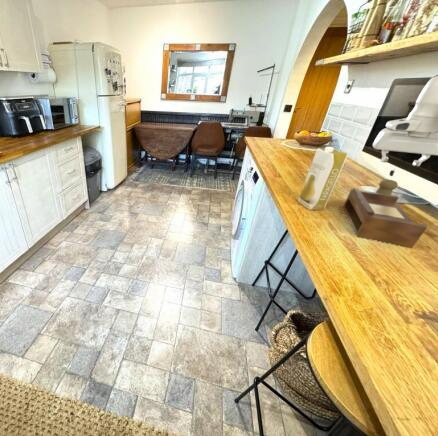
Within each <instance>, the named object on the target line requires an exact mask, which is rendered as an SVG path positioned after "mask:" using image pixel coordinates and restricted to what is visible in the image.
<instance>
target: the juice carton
mask: <svg viewBox="0 0 438 436" xmlns="http://www.w3.org/2000/svg"><path fill="white" fill-rule="evenodd" d="M348 157H349V153H348V152H344V151H340V150H337V149H335V147H332V146H326V147H321V148H319V147H318V148H317V149H316V151H315V153H314V156H313V159H312V162H311V164H310V167H309V170H308V173H307V176H306V178H305V180H304V184H303V186H302V188H301V191H300V193H299V197H298V201H297V202H298V203H299V204H300V205H302V206H303V207H305V208H306V209H307V210H309V211H319V210H320V211H321V210H324V209H325V208H326V206H327V205H328V202H329V200H330V198H331V196H332V194H333V191H334V189H335V187H336V184H337V182H338V179H339V177H340V175H341V172H342V170H343V168H344V166H345V164H346V161H347V160H348V159H347V158H348ZM344 163H345V164H344Z"/></svg>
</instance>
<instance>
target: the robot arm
mask: <svg viewBox="0 0 438 436" xmlns="http://www.w3.org/2000/svg"><path fill="white" fill-rule="evenodd" d="M372 147H373V149H375V150H378V151H379V150H380V152H381V158H380V163H388V161H389V159H390V157H388V156H387V154H389V152H399V153H409V154H418V155H420V154H421V157H420V158H418V159H414V160H413V162H412V166H413V167H420V166H421V164H422V163H423V162H425V161H427V160H428V159H430V158H431V156H438V74H436V75H434V76H432V77H431V78H430V79H428V81H427V83H426V84H425V85H424V87H423V88H422V90H421V92H420V93H419V95H418V97H417V98H416V101H415V105H414V107H413V108H412V110H411V111H410V112H409V114H408V116H407V117H405V118H404V117H403V118H400V119H394V120H393V119H392V120H388V121H387V122H386V124H385V128H383V129H381V130H380V131H379V132H378V134H377V135H376V137H375V139H374V141H373V143H372Z"/></svg>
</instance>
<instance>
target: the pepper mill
mask: <svg viewBox="0 0 438 436" xmlns="http://www.w3.org/2000/svg"><path fill="white" fill-rule="evenodd" d="M398 184H399V183H398V182H397V181H396V180H393V179H388V178H385V179H382V180H380V182H379V183H378V189H376V190H375V193H382V194H389V195H392V193H393V191H394V190H396V189H397V187H398Z"/></svg>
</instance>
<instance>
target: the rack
mask: <svg viewBox="0 0 438 436" xmlns="http://www.w3.org/2000/svg"><path fill="white" fill-rule="evenodd" d="M375 192H376V191H375ZM375 192H373V191H369V190H368V191H367V190H361V189H360V188H357V187H356V188H355V187H353V188H351V190H350V191H349V193H348V196H347V198H346V200H345V202H344V204H343V206H342V208H343V210H344V211H345V214H346V216H347V218H348V220H349V223H350V225H351V227H352V229H353V231H354V234H355V235H357V236H356V238H360V237H361V238H360V239H364V238H366V240H369V239H372V240H371V241H374V240H377V241H376V242H379V241H381V242H380V243H384V242H386V243H385V244H388V243H391V244H390V245H393V244H396V245H395V246H398V245H400V246H399V247H402V248H408V249H413V248H414V246H415V245H416V243H417V242H419V240H420V238H421V236H422V235H423V234H424V232H426V230H427V228H428V226H427V225H426V224H423V223H419V222H414V220H413V219H412V218H411V217H410V216H409V214H407V213H406V211H404V210H403V208H401V206H400V205H399V204H398V202H397V201H398V199H399V196H398V195H395V194H391V195H389V194H382V193H375Z"/></svg>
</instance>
